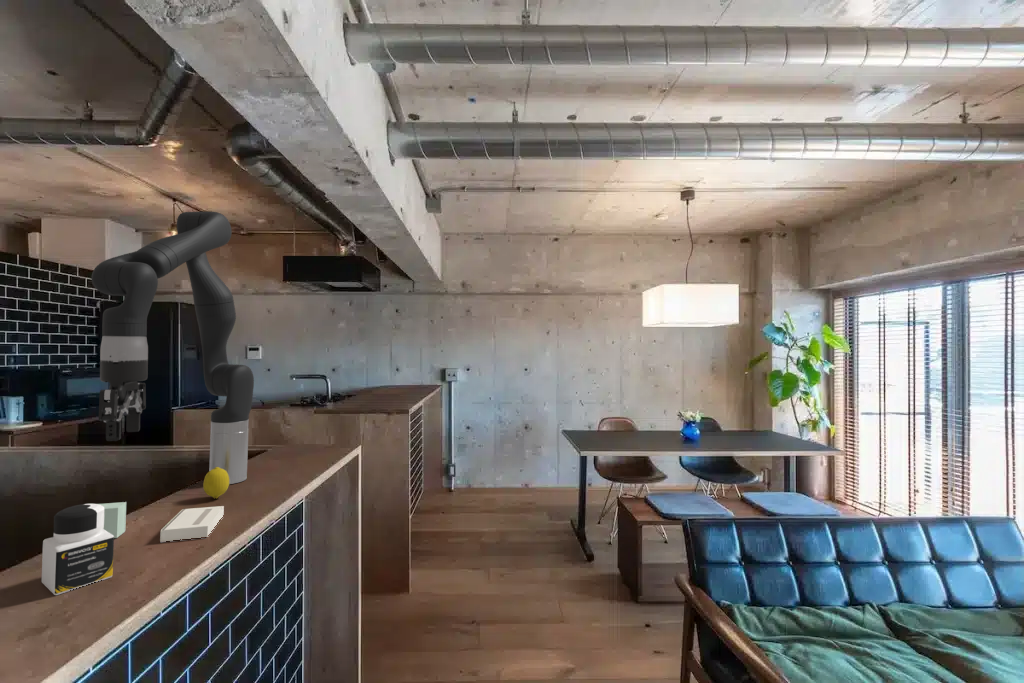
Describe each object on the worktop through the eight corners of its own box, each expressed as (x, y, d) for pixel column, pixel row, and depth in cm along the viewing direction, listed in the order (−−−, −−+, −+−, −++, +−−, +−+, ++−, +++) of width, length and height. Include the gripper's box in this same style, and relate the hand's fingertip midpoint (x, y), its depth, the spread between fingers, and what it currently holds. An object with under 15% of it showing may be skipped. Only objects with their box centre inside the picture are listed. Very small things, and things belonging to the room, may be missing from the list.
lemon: (233, 495, 118) (234, 464, 118) (217, 502, 112) (219, 470, 112) (214, 494, 118) (215, 463, 118) (197, 501, 113) (198, 469, 113)
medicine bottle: (54, 596, 70) (57, 518, 70) (40, 583, 74) (43, 509, 74) (113, 577, 76) (115, 505, 76) (97, 565, 80) (100, 497, 80)
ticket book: (182, 520, 101) (182, 508, 101) (223, 516, 104) (223, 505, 104) (160, 542, 90) (160, 529, 90) (207, 537, 92) (207, 525, 92)
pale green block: (94, 533, 93) (95, 504, 93) (125, 531, 94) (126, 502, 94) (85, 540, 89) (86, 510, 89) (116, 537, 91) (118, 507, 91)
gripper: (119, 356, 100) (118, 430, 100) (82, 359, 86) (81, 445, 87) (160, 356, 102) (159, 428, 102) (130, 360, 89) (129, 442, 89)
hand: (123, 435), depth 95 cm, fingers open, 8 cm apart
